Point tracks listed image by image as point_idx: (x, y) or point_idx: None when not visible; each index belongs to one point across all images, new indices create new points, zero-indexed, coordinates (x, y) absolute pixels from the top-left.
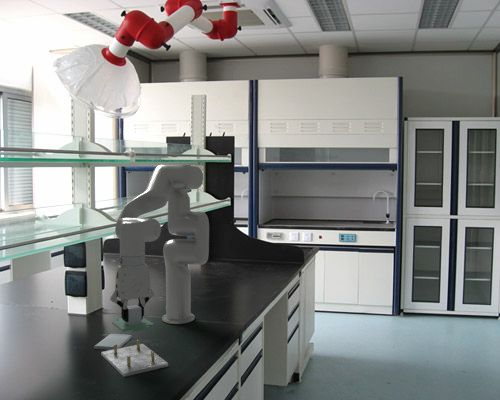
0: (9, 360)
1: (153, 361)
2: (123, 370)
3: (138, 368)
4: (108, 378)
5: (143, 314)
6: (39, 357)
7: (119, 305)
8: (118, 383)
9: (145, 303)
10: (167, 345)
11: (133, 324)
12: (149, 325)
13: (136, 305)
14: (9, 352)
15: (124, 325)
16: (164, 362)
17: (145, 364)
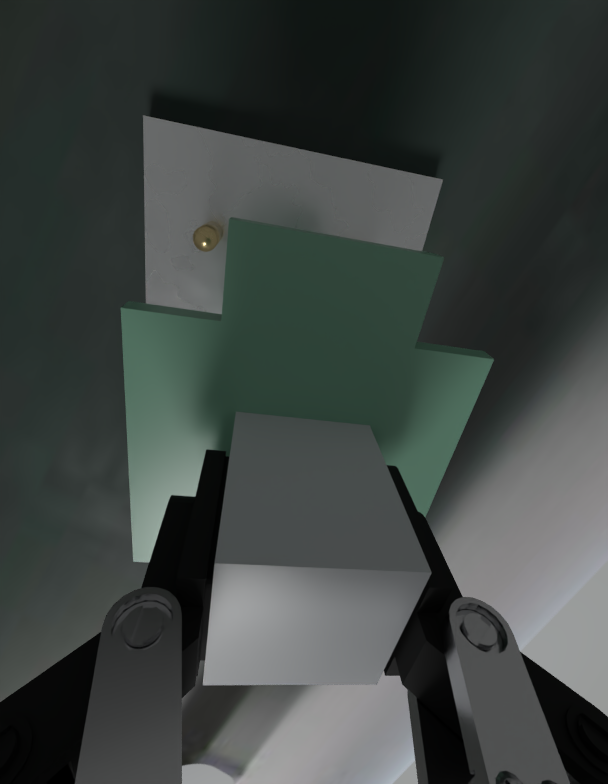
0: (570, 586)
1: (213, 219)
2: (415, 223)
3: (340, 185)
4: (492, 223)
5: (175, 500)
6: (504, 566)
7: (562, 684)
8: (508, 114)
9: (88, 648)
10: (26, 412)
11: (325, 422)
12: (184, 315)
13: (225, 660)
14: (528, 630)
15: (397, 451)
16: (160, 148)
17: (275, 212)
